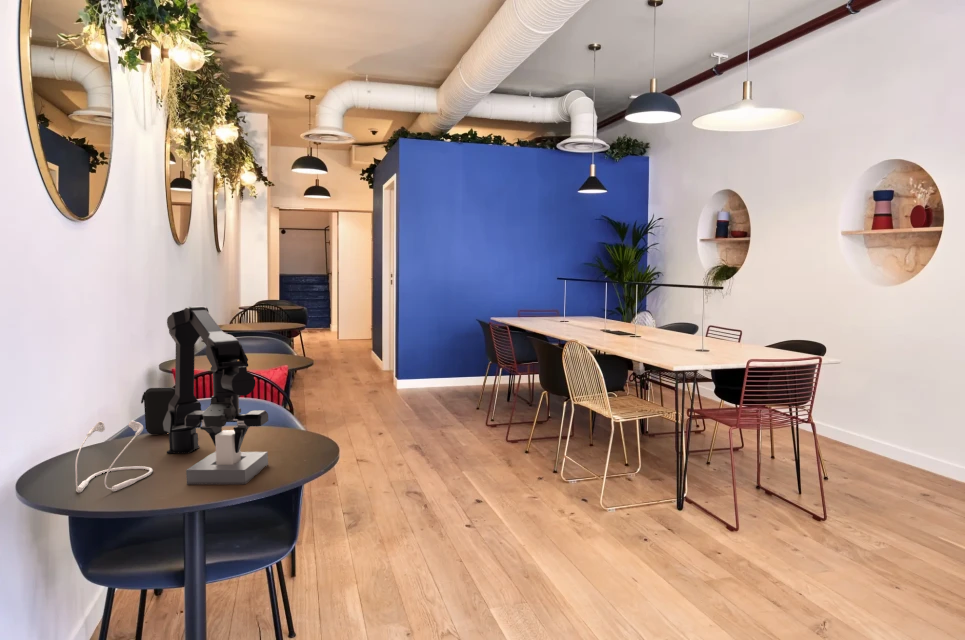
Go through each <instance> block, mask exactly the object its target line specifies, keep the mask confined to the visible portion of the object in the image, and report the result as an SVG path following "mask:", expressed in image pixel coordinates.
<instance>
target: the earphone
mask: <svg viewBox="0 0 965 640" xmlns="http://www.w3.org/2000/svg"><path fill="white" fill-rule="evenodd" d="M128 427H129V428H131V429H132V430H133V431H134V436H133V438H131V440H130V441H129V442H128V443H127V444H126V445H125V447H124V448H123V449H122V450H121V451H120V453H119V454H118V455H117V456H116V458H115V459H114V460H113V462H112V463H111V465H109V467H108V469H104V470H100V471H97V472H95V473H93V474H92V475H90V476H88V477H87V478H86V479H85V480H82V482H81V483H80V484H79V485H78V461H79V456H80V452H81V451H82V448H83V446H84V444H85V442H86V441H87V439H88V438H89V437H92V435H93V434H94V432H99V433H102V432H105V430H106V427H105V423H104V422H103V421H101V420H100V421H97V422H96V424H95V425H94V426H93V427H92V428H91V429H90V430H89V431H88V433H86V437H85V438H84V440H83V442H82V443H81V445H80V447H79V449H78V452H77V455H76V457H75V466H74V467H75V468H74V469H75V487H76V489H75V491H76V493H82V492H83V491H84V489H85V488H86V487H87V486H88V485H89V482H90V481H91V480H92V479H94V478H95V476H96V477H98V476H100V475H102V473H103V474H105V477H104V486H105V488H106V489H107V490H111V491H112V492H116V491H120V490H121V489H122V490H123V489H124V488H126V487H129V486H131V485H133V484H135V483H136V482H138V481H140V480H143V479H144V478H147V477H148V476H151V474H152V473H154V472H153V471H154V470H153V468H152V467H150V466H142V465H141V466H140V465H139V466H138V465H137V466H136V465H135V466H134V465H133V466H122V467H121V466H119V467H113V466H114V464H115V463H116V462H117V460H118V459H119V457H121V455H122V454H123V452H124V451H125V450H126V449H127V448H128V447H129V445H130V444H131V443H132V442H133V441H134V439H135V438H137V436H139V435H140V434H141V433H142V432H143V431H144V425H143V424H142V423H140V422H138V421H135V420H130V421H129V423H128ZM112 467H113V468H112ZM144 469H145V470H146V471H147V472H146V473H145V474H142V475H140V476H137V477H136V478H130V479H127V480H125V481H123V482H120V483H118V484H115V485H113V486H111V487H108V485H107V477H108V475H109V473H111V472H116V471H124V470H144ZM110 471H111V472H110ZM105 472H107V473H105Z"/></svg>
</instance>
